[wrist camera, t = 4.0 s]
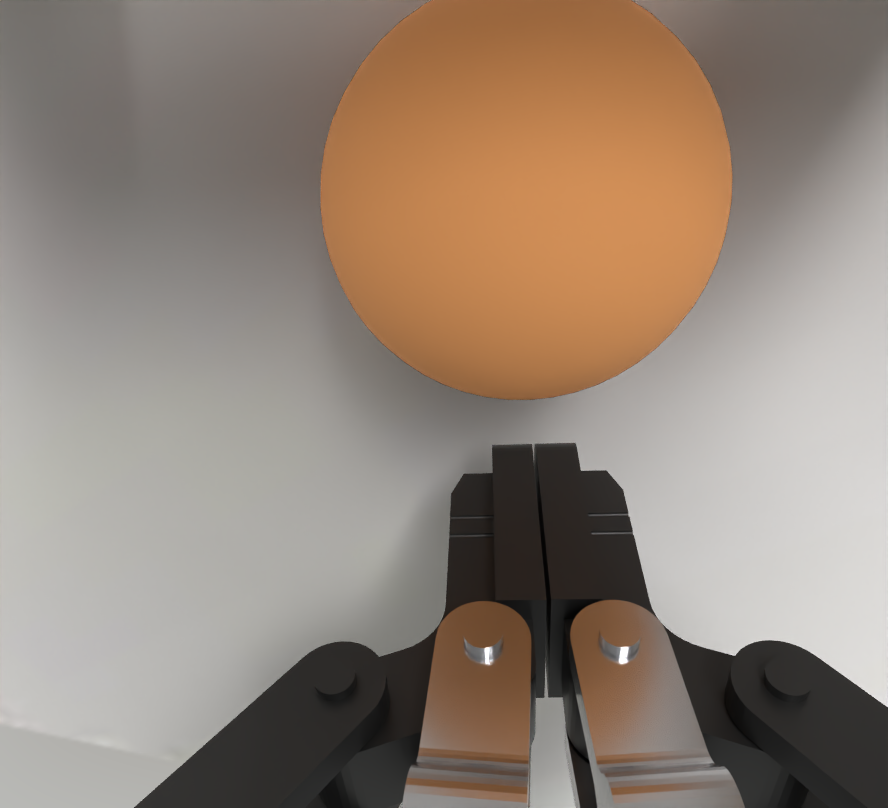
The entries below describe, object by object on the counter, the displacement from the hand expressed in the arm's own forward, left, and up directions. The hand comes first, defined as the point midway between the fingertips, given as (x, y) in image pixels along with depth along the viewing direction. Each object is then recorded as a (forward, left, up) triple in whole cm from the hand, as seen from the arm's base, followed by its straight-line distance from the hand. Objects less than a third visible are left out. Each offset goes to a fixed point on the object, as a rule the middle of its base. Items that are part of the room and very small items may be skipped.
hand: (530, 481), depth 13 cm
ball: (-6, 0, +1) cm, 6 cm away
